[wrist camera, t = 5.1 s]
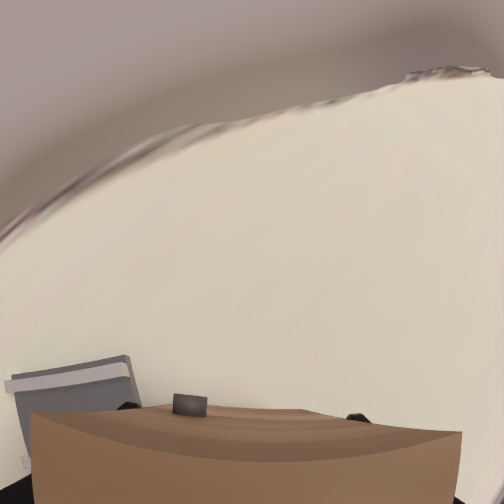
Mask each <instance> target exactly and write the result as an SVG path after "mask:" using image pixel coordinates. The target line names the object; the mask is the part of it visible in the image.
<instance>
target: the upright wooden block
mask: <svg viewBox="0 0 504 504" xmlns="http://www.w3.org/2000/svg"><path fill="white" fill-rule="evenodd" d="M461 442H462V432H455V431H436V430H422V429H412V428H402V427H394V426H386V425H379V424H373V423H366V422H360V421H355V420H348V419H344V418H339V417H334V416H329V415H324V414H320V413H315V412H311V411H307V410H303V409H253V408H235V407H221V406H210V405H207V397H201V396H193V395H184V394H174V397H173V404H168V405H161V406H153V407H145V408H138V409H125V410H113V411H97V412H66V413H51V412H31V424H30V453H31V473H32V485H33V495H34V503H35V504H453V500H454V495H455V490H456V484H457V477H458V470H459V462H460V453H461Z"/></svg>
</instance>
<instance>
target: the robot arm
mask: <svg viewBox="0 0 504 504" xmlns="http://www.w3.org/2000/svg"><path fill="white" fill-rule="evenodd" d="M138 408H141V405H140V404H139V403H137V402H132V401H126V402H124V403H123V404H122V405H121V406H119V407H118V408H117V409H116V410H125V409H138ZM346 419H348V420H355V421H360V422H366V423H371V422H370V421H369V420H368V419H367V418H366V417H365V416H364V415H363V414H361V413H357V414H349V415H348V416H347V418H346ZM0 504H35V503H34V495H33V485H32V473H31V474H29V475H28V476H26V477H24V478H22V479H21V480H19V481H17V482H15V483H13V484H11V485H9V486H7V487H5V488H3V489H1V490H0ZM453 504H465V503H464V502H462V501H461V500H459V499H458V498H456V497H455V496H454V500H453Z"/></svg>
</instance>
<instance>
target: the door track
mask: <svg viewBox="0 0 504 504" xmlns="http://www.w3.org/2000/svg"><path fill="white" fill-rule="evenodd" d="M4 383H5V390H6V393H12V394H14V395H15V401H16V406H17V411H18V416H19V420H20V425H21V429H22V433H23V437H24V441H25V444H26V448H27V451H28V455H29V456H24V457H21V460H22V463H23V466H24V468H29V469H31V453H30V424H31V412H51V413H66V412H97V411H113V410H116V409H117V408H118V407H119V406H121V405H122V404H123V403H124V402H126V401H132V402H137V403H139V404H140V405H141V402H140V398H139V394H138V391H137V387H136V383H135V379H134V375H133V371H132V366H131V362H130V357H129V356H127V355H121V356H116V357H112V358H107V359H102V360H97V361H92V362H87V363H82V364H77V365H71V366H65V367H60V368H54V369H48V370H42V371H35V372H28V373H22V374H14V375H12V380H8V381H4ZM141 408H142V405H141Z"/></svg>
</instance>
